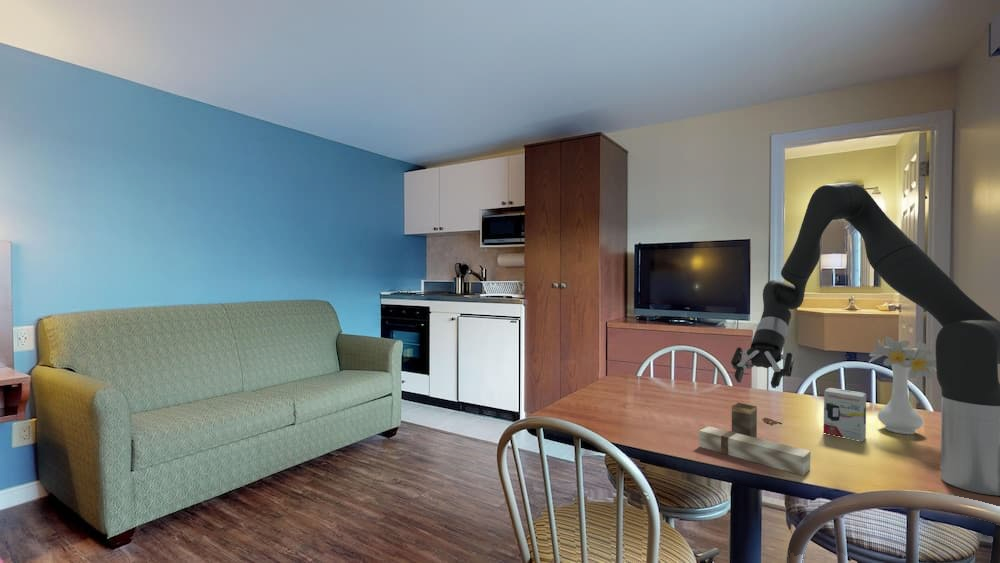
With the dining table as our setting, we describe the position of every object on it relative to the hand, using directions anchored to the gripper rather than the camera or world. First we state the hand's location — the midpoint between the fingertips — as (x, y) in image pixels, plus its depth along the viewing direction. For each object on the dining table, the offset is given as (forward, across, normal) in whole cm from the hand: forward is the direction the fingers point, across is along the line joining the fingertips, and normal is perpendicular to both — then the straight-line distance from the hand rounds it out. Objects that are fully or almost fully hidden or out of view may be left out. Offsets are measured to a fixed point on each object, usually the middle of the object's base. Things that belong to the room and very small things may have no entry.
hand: (755, 383), depth 120 cm
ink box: (-2, +16, +22) cm, 27 cm away
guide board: (+22, +5, -2) cm, 22 cm away
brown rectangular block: (+15, 0, +5) cm, 15 cm away
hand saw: (-4, -8, +24) cm, 26 cm away
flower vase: (-13, +26, +33) cm, 44 cm away
